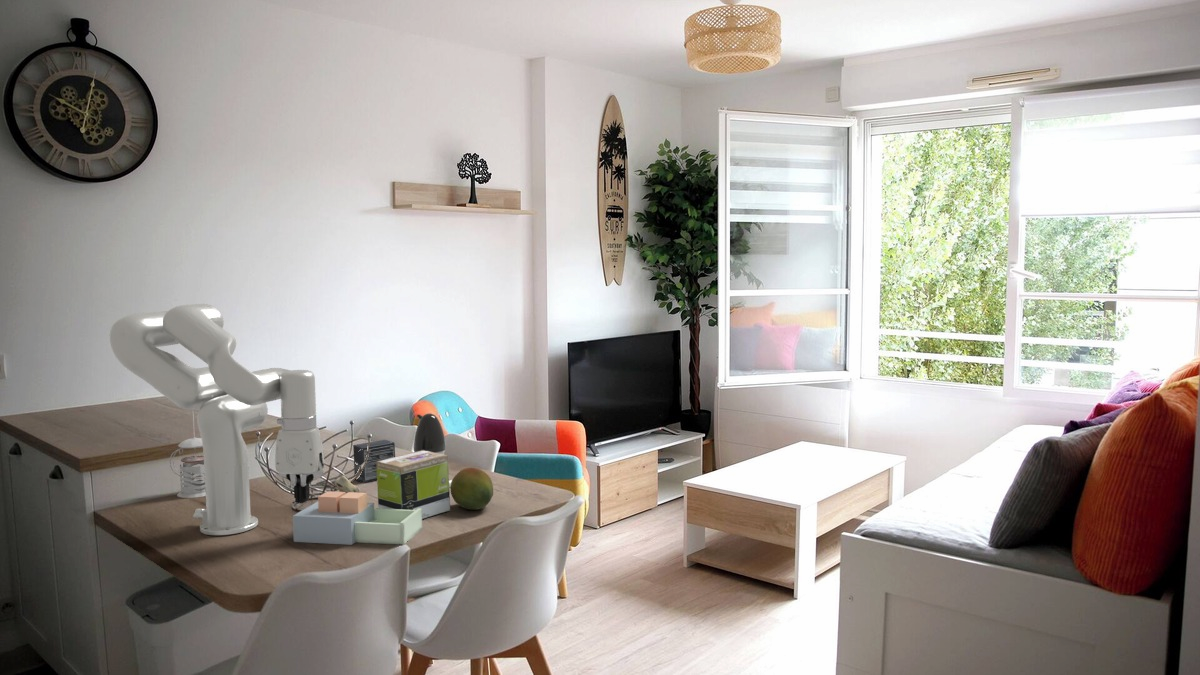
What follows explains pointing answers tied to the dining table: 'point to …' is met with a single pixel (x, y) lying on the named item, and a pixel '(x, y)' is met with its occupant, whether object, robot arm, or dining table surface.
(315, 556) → the dining table surface
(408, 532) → the bin
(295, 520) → the light blue drawer case
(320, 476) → the robot arm
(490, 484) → the fruit
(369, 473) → the small box
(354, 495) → the peach orange cube
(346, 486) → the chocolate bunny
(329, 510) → the orange wooden cube
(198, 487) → the french press
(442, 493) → the tea box
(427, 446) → the black rounded cone
